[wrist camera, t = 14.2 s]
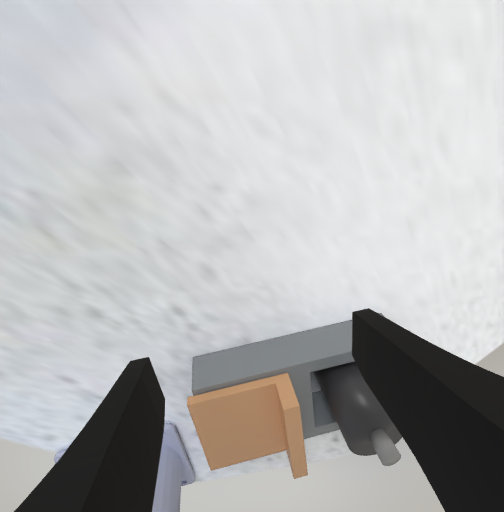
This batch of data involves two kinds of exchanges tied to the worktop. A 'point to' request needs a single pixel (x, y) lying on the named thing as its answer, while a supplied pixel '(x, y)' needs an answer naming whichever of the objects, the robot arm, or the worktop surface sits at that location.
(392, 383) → the robot arm
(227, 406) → the tan l-shaped bracket
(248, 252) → the worktop surface
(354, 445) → the plug
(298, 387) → the socket block
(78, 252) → the worktop surface
